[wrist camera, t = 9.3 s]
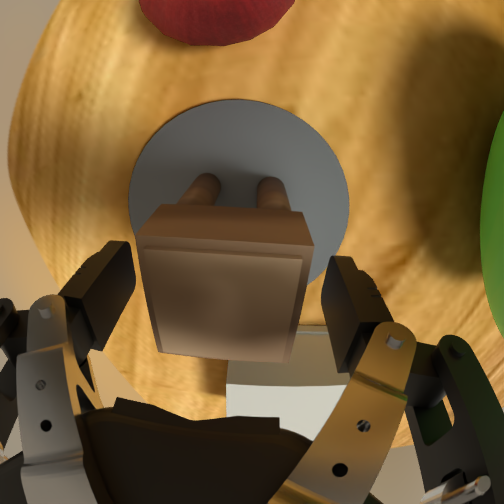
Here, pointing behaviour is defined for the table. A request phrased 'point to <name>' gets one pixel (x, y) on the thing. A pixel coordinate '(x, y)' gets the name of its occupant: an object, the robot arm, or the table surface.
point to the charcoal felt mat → (245, 167)
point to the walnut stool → (226, 273)
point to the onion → (214, 19)
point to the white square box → (289, 384)
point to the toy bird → (494, 227)
